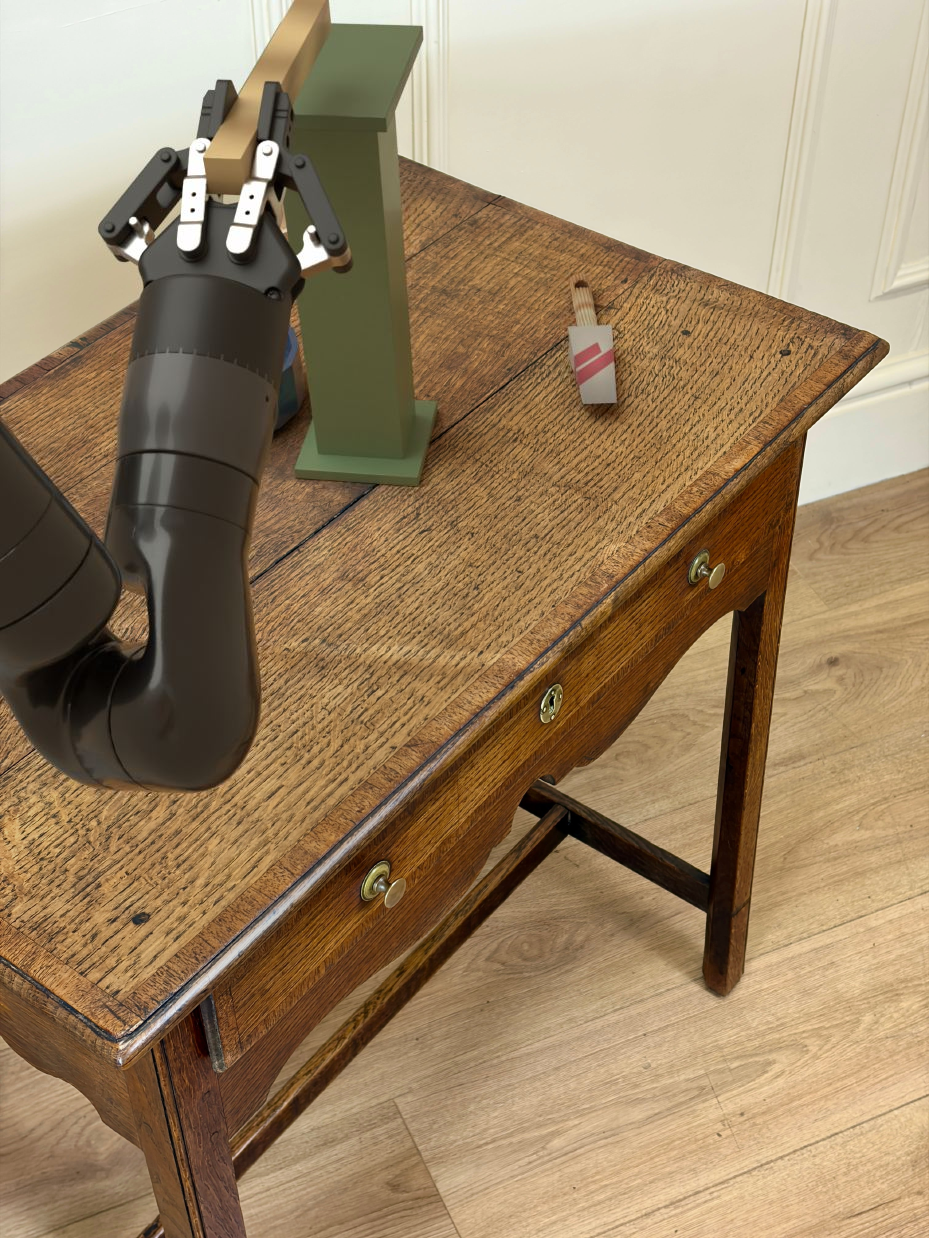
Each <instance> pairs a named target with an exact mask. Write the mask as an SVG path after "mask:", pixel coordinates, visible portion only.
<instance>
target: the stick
mask: <svg viewBox="0 0 929 1238" xmlns="http://www.w3.org/2000/svg"><path fill="white" fill-rule="evenodd" d="M331 17H332V16H331V7H330V0H293V1H292V3H291V5H290V7H289V8H288V9H287V12H286V13H285V14H284V16H283V19H282V20H281V21H280V22H281V24H280V23H279V24H280V25H279V24H278V26H279V27H278V26H277V27H278V29H277V28H276V29H277V30H276V29H275V31H276V32H275V31H274V33H275V34H274V33H273V34H274V36H273V35H272V36H273V37H272V36H271V38H272V39H271V38H270V39H271V41H270V40H269V41H270V42H269V41H268V43H269V44H268V43H267V44H268V46H267V45H266V46H267V48H266V47H265V48H266V49H265V48H264V49H265V51H264V50H263V51H264V53H263V52H262V53H263V54H262V53H261V54H262V56H261V55H260V56H261V58H260V57H259V58H260V60H259V61H258V60H257V61H258V63H257V62H256V63H257V65H256V64H255V65H256V66H255V65H254V66H255V68H254V67H253V68H254V70H253V69H252V70H253V71H252V70H251V71H252V73H251V72H250V73H251V75H250V74H249V75H250V77H249V78H248V77H247V78H248V80H247V79H246V80H247V82H246V83H245V82H244V83H245V85H244V84H243V85H244V87H243V89H242V90H241V89H240V90H241V92H240V94H239V95H238V98H237V100H236V101H235V103H234V105H233V106H232V108H231V110H230V112H229V113H228V115H227V117H226V118H225V120H224V122H223V124H222V125H221V126H220V128H219V130H218V131H217V133H216V135H215V137H214V138H213V140H212V142H211V143H210V145H209V147H208V148H207V150H206V152H205V154H204V155H203V157H202V158H203V163H204V169H205V175H206V180H207V186H208V191H209V194H223V196H224V195H226V196H240V195H241V191H242V187H243V184H244V183H245V180H246V178H249V176H250V172H251V168H252V164H253V160H254V156H255V152H256V149H257V146H258V143H257V140H256V137H257V131H258V127H257V124H258V118H259V112H260V106H261V100H262V94H263V88H264V83H265V81H279V82H280V84H281V87H282V90H283V92H285V93H288V95H289V98H290V101H291V104H292V106H293V104H294V102H295V100H296V98H297V96H298V94H299V92H300V90H301V88H302V86H303V84H304V82H305V80H306V79H307V77H308V75H309V73H310V71H311V69H312V67H313V65H314V63H315V61H316V59H317V57H318V55H319V53H320V51H321V49H322V47H323V45H324V43H325V41H326V39H327V38H328V36H329V34H330V32H331V30H332V27H331V23H332V20H331V19H332V18H331Z"/></svg>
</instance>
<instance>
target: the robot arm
mask: <svg viewBox="0 0 929 1238" xmlns="http://www.w3.org/2000/svg"><path fill="white" fill-rule="evenodd" d="M237 98H238V92H237V89H236V88H235V84H234V83H233V80H232V79H223V78H221V79H219V78H218V79H217V80H216V81H215V85H214V89H208V90H207V91H206V93H205V95H204V96H203V98H202V104H201V109H200V115H199V120H198V125H197V132H196V138H195V139H194V140H193V141H192V142H191V143H190V145H189V146H188V147H186V148H184V149H180V150H175V148H173V147H170V146H164V147H162V148H159V149H158V150H157V151H156V153H154V155H153V156H152V157H151V159H150V160H149V161H148V162H147V163H146V165H145V166H144V167H143V169H142V170H141V171H140V172H139V174H138V175H137V176H136V177H135V179H134V180H133V181H132V182H131V183H130V185H129V186H128V187H127V188H126V190H125V191H124V192H123V193H122V194H121V196H120V197H119V198H118V199H117V201H116V202H115V203H114V204H113V206H112V207H111V208H110V209H109V211H108V212H107V213H106V214H105V216H104V217H103V218H102V220H101V221H100V222H99V223H98V226H97V232H98V234H99V236H100V237H101V238H102V240H103V243H104V244H105V246H106V247H107V248H108V250H109V252H110V253H111V254H113V256H114V258H115V259H116V260H117V261H118V262H121V263H129V262H130V263H133V264H134V265H136V266H137V268H138V273H139V276H140V279H141V280H142V292H141V293H140V295H139V299H138V305H137V311H136V316H135V322H134V328H133V332H132V338H131V345H130V349H129V354H128V359H127V360H128V361H127V365H126V371H125V378H124V384H123V389H122V394H121V400H120V405H119V409H118V410H119V412H118V419H117V431H116V456H115V464H114V467H113V473H112V479H111V485H110V490H109V496H108V501H107V507H106V512H105V518H104V525H103V532H102V539H101V538H100V537H99V536H98V534H97V533H96V532H95V530H94V529H93V528H92V527H91V526H90V525H89V524H88V522H87V521H86V520H85V519H84V517H83V516H82V515H81V514H80V513H79V512H78V511H77V509H76V508H75V507H74V505H72V503H71V501H70V500H69V499H68V498H67V497H66V496H65V494H64V493H63V492H62V491H61V489H60V488H59V487H58V486H57V485H56V483H55V482H54V481H53V480H52V478H51V477H50V476H49V475H48V473H47V472H46V471H45V470H44V469H43V467H42V466H41V465H40V464H39V462H37V460H36V459H35V458H34V457H33V456H32V454H31V453H30V451H29V450H28V449H27V448H26V447H25V445H23V443H22V442H21V440H20V439H19V438H18V436H17V435H16V434H15V432H14V431H13V430H12V429H11V428H10V426H9V425H8V423H7V421H5V419H4V418H3V416H1V415H0V694H1V695H2V697H3V699H4V701H5V702H6V704H7V706H8V708H9V709H10V711H11V713H12V715H13V717H14V718H15V719H16V721H17V724H18V726H19V727H20V729H21V730H22V733H24V735H25V736H26V738H27V740H28V741H29V743H30V744H31V745H32V746H33V748H34V749H35V750H36V752H38V753H39V754H40V755H41V756H42V758H43V759H45V761H47V762H48V763H49V764H50V765H51V766H52V767H53V768H55V769H56V770H57V771H58V772H60V773H61V774H63V775H64V776H66V777H67V778H69V779H70V780H72V781H74V782H75V783H78V784H80V785H81V786H85V787H88V788H91V789H95V790H101V791H113V792H115V791H117V792H124V791H125V792H142V793H143V792H145V793H162V794H163V793H165V794H198V793H203V792H208V791H211V790H214V789H216V788H218V787H220V786H221V785H224V784H225V783H226V782H228V781H229V780H230V779H231V778H232V777H233V776H234V775H235V774H236V772H238V771H239V769H240V768H241V766H242V765H243V764H244V762H245V760H246V759H247V757H248V755H249V753H250V751H251V749H252V747H253V745H254V743H255V740H256V737H257V733H258V731H259V727H260V721H261V718H262V717H261V716H262V704H263V689H262V676H261V667H260V658H259V651H258V641H257V634H256V626H255V625H256V623H255V615H254V604H253V598H252V597H253V596H252V591H251V584H250V575H249V557H250V553H251V546H252V540H253V539H252V538H253V532H254V525H255V518H256V513H257V507H258V506H257V505H258V500H259V492H260V488H261V483H262V480H263V479H262V478H263V475H264V473H265V468H266V465H267V462H268V459H269V455H270V451H271V447H272V443H273V437H274V431H275V430H274V428H275V425H276V424H277V419H278V411H279V408H278V398H279V391H280V384H281V377H282V371H283V364H284V357H285V351H286V344H287V338H288V331H289V325H291V324H290V323H291V316H292V309H293V306H294V304H295V302H296V301H297V300H296V299H297V297H298V296H299V295H300V294H301V292H302V291H303V289H304V286H305V281H306V278H309V277H311V276H313V275H316V274H318V273H320V272H323V271H325V270H327V269H330V268H332V270H333V271H334V272H336V273H339V274H344V273H347V272H349V271H350V270H351V269H352V267H353V264H354V262H353V258H352V255H351V252H350V249H349V246H348V243H347V240H346V237H345V234H344V232H343V230H342V228H341V225H340V223H339V221H338V219H337V216H336V214H335V212H334V210H333V208H332V205H331V203H330V201H329V199H328V196H327V194H326V192H325V190H324V187H323V185H322V183H321V181H320V179H319V176H318V174H317V172H316V170H315V167H314V165H313V163H312V161H311V159H310V157H309V156H308V155H307V154H304V153H297V154H295V155H294V154H292V153H290V151H291V145H292V138H293V132H294V126H295V119H296V117H295V113H294V110H293V107H292V104H291V101H290V98H289V95H288V93H285V92H283V90H282V87H281V84H280V82H279V81H265V83H264V88H263V94H262V100H261V106H260V112H259V118H258V124H257V127H258V131H257V137H256V140H257V143H258V146H257V149H256V152H255V156H254V160H253V164H252V168H251V172H250V176H249V178H246V180H245V183H244V184H243V187H242V191H241V195H239V200H238V201H237V202H232V203H224V195H223V194H209V191H208V186H207V180H206V175H205V169H204V163H203V158H202V157H203V155H204V154H205V152H206V150H207V148H208V147H209V145H210V143H211V142H212V140H213V138H214V137H215V135H216V133H217V131H218V130H219V128H220V126H221V125H222V124H223V122H224V120H225V118H226V117H227V115H228V113H229V112H230V110H231V108H232V106H233V105H234V103H235V101H236V100H237ZM287 188H288V189H291V190H293V191H296V192H298V193H299V195H300V198H301V200H302V202H303V205H304V207H305V209H306V211H307V214H308V216H309V218H310V220H311V223H312V225H310V226H308V228H307V230H306V231H305V232H304V234H303V241H304V247H303V249H302V251H301V252H300V253H299V254H297V255H296V254H295V252H294V251H293V249H292V247H291V246H290V244H289V242H288V241H287V239H286V238H285V236H284V234H283V233H282V231H281V229H280V227H281V223H282V218H283V211H282V206H283V201H284V197H285V193H286V189H287ZM180 201H181V208H180V213H179V214H178V215H177V216H176V217H175V218H174V219H173V220H172V221H171V222H170V223H169V224H168V225H167V226H166V227H165V228H164V229H163V230H162V231H161V232H160V233H159V234H158V235H157V236H156V235H155V233H156V231H157V230H158V229H159V227H160V226H161V224H162V223H163V222H164V221H165V220H166V218H167V217H168V216H169V215H170V213H171V212H172V211H173V210H174V208H175V207H176V206H177V204H178V203H179V202H180ZM123 590H125V591H128V592H130V593H133V594H135V595H138V596H141V597H145V602H146V609H147V619H148V636H147V641H139V642H137V641H136V642H125V641H124V640H122V638H120V637H119V636H117V634H116V633H114V632H113V631H112V630H111V628H109V626H108V623H110V621H111V619H112V618H113V616H114V614H115V613H116V611H117V609H118V607H119V604H120V601H121V598H122V592H123Z"/></svg>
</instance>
